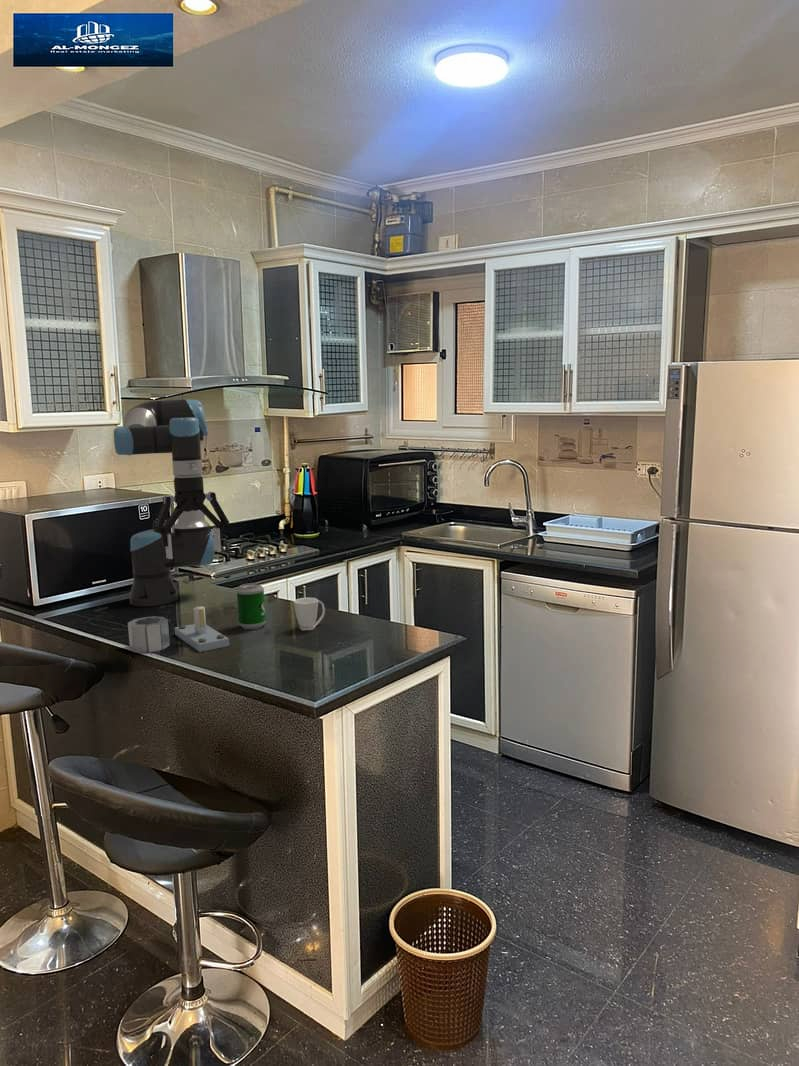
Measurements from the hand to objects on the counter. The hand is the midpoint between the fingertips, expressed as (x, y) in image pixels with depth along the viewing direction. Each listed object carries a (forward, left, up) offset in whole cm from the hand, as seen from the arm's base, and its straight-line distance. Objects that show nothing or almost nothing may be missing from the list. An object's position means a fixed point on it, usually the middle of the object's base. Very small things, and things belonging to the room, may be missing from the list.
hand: (194, 554), depth 212 cm
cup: (+11, +28, -23) cm, 38 cm away
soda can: (0, +15, -23) cm, 28 cm away
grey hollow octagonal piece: (0, -14, -23) cm, 27 cm away
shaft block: (+3, -1, -23) cm, 23 cm away
